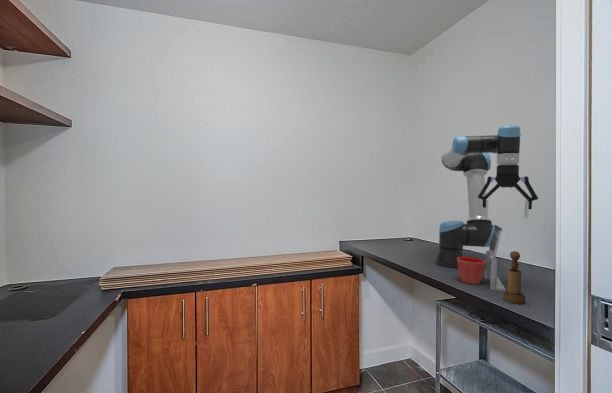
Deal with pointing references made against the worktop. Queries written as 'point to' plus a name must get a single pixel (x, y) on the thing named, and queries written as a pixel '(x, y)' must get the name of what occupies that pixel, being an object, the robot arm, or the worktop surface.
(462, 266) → the flower pot
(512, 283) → the brown tall piece
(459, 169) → the robot arm
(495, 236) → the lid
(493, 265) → the hinge bracket
